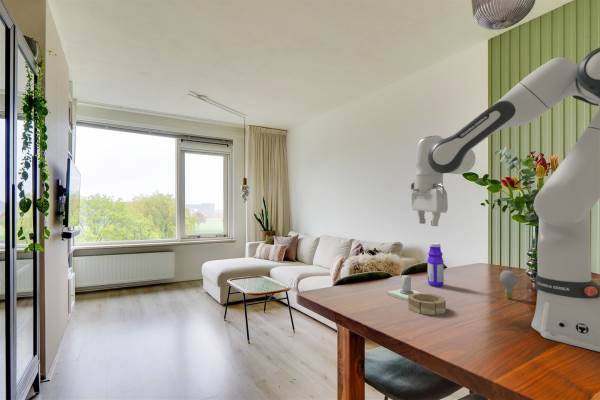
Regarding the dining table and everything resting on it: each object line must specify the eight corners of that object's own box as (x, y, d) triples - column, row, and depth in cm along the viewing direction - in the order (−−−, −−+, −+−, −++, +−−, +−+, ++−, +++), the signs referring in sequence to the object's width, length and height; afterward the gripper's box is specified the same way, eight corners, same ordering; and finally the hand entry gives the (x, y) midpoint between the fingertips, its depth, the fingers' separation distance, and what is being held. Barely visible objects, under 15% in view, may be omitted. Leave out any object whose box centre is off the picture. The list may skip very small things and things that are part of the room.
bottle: (446, 287, 132) (445, 244, 132) (432, 287, 132) (431, 244, 132) (439, 283, 139) (438, 242, 140) (425, 283, 140) (425, 242, 140)
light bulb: (500, 299, 115) (500, 271, 115) (499, 295, 120) (498, 268, 120) (519, 301, 112) (518, 272, 112) (517, 297, 117) (516, 269, 117)
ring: (452, 310, 104) (452, 299, 104) (428, 316, 98) (428, 305, 98) (424, 301, 113) (424, 291, 113) (401, 306, 108) (401, 296, 108)
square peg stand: (427, 296, 119) (426, 277, 119) (407, 301, 114) (407, 281, 114) (406, 290, 128) (405, 272, 128) (386, 294, 123) (386, 275, 123)
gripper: (453, 183, 102) (452, 227, 102) (425, 185, 122) (424, 222, 122) (433, 183, 101) (433, 227, 101) (408, 185, 122) (407, 222, 122)
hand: (428, 224), depth 112 cm, fingers open, 8 cm apart
